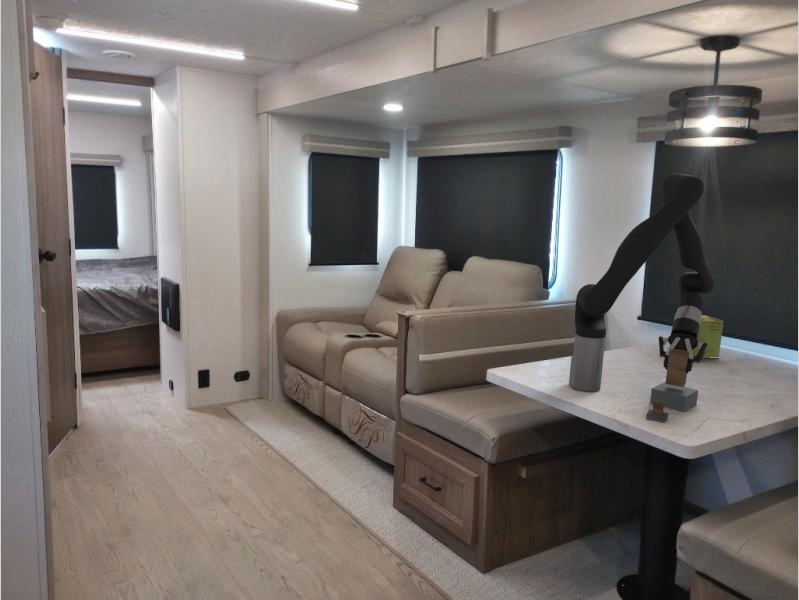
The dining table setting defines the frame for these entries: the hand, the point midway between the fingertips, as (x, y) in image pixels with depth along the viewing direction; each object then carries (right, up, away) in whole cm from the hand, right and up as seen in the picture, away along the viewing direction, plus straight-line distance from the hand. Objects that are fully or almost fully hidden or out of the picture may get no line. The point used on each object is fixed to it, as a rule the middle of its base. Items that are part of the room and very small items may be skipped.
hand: (676, 369), depth 182 cm
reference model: (-10, -12, -10) cm, 19 cm away
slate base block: (0, -11, +3) cm, 12 cm away
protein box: (+36, -2, +65) cm, 75 cm away
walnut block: (+1, -4, +2) cm, 5 cm away
